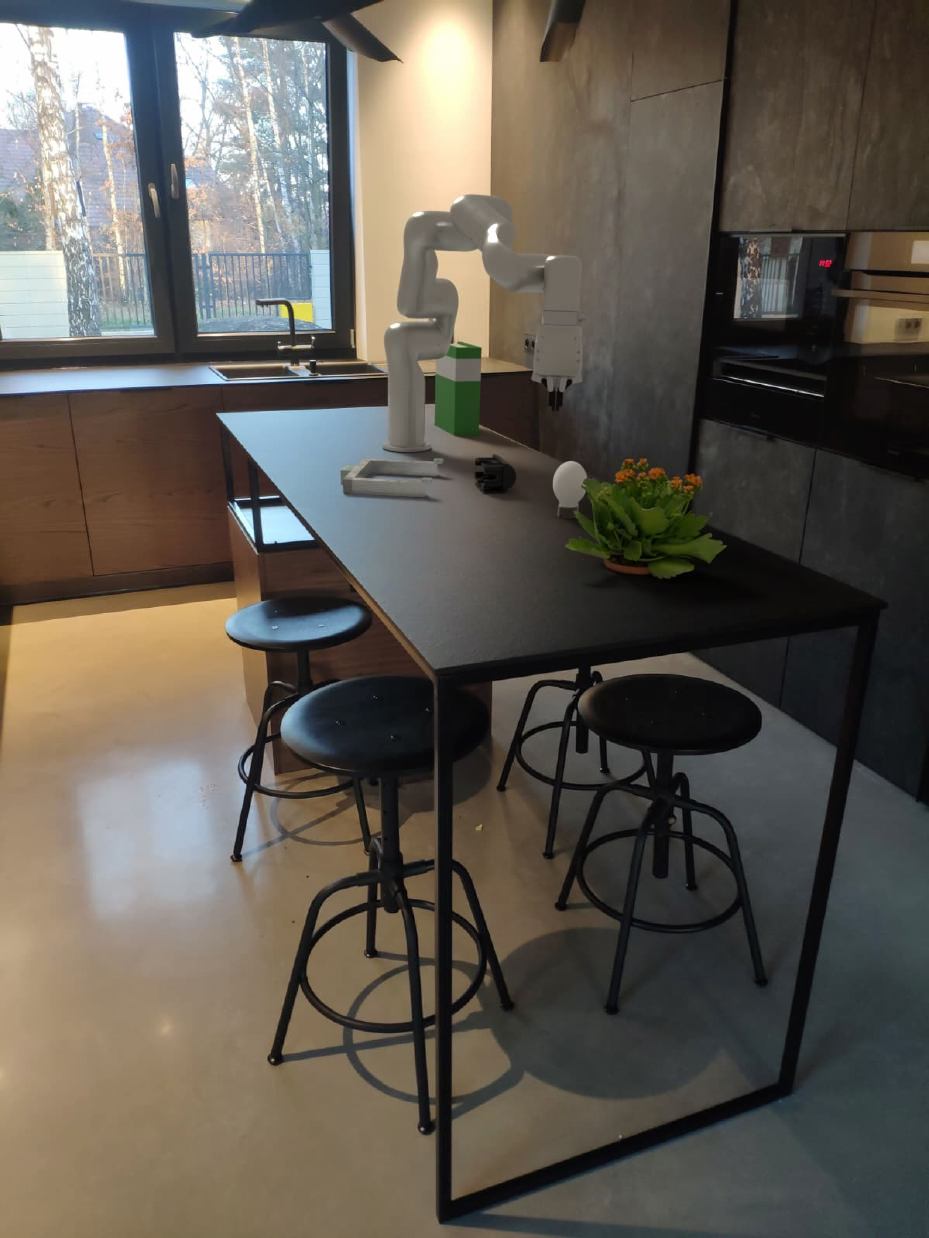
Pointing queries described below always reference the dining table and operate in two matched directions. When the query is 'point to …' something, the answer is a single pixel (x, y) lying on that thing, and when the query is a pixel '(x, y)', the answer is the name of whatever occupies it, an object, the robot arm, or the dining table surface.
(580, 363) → the robot arm
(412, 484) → the mounting bracket
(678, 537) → the potted flower
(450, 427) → the green white box
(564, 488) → the light bulb
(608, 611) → the dining table surface
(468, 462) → the dining table surface
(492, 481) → the end cap
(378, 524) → the dining table surface
